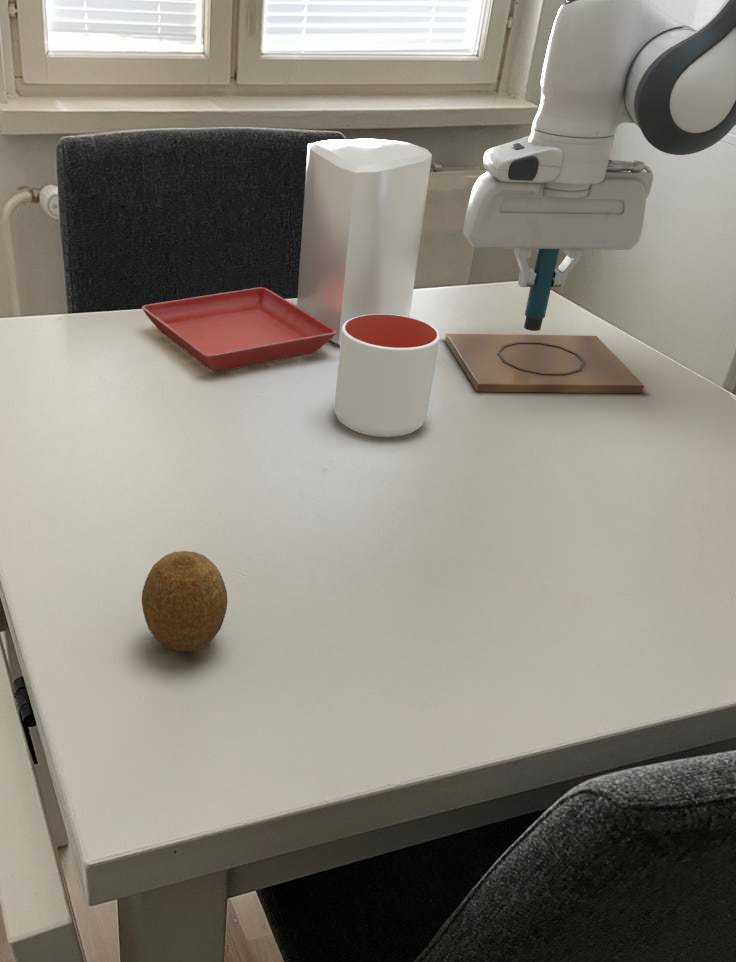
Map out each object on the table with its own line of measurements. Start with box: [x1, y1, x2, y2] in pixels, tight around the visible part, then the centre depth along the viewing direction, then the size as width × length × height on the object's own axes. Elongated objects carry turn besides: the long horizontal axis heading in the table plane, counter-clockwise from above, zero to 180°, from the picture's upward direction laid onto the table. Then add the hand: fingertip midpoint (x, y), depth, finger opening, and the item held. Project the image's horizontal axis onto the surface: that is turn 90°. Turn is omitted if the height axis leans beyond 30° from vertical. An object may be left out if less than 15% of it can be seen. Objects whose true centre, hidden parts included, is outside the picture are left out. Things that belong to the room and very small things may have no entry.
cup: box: [333, 314, 441, 438], centre depth 104 cm, size 10×10×10 cm
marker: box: [523, 249, 560, 332], centre depth 117 cm, size 2×2×13 cm
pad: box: [444, 333, 645, 394], centre depth 121 cm, size 20×16×1 cm
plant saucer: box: [141, 286, 336, 373], centre depth 122 cm, size 18×18×3 cm
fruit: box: [141, 550, 229, 652], centre depth 72 cm, size 6×6×8 cm
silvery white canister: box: [296, 138, 433, 345], centre depth 124 cm, size 15×14×22 cm
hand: (540, 285), depth 118 cm, fingers closed on marker, 2 cm apart
